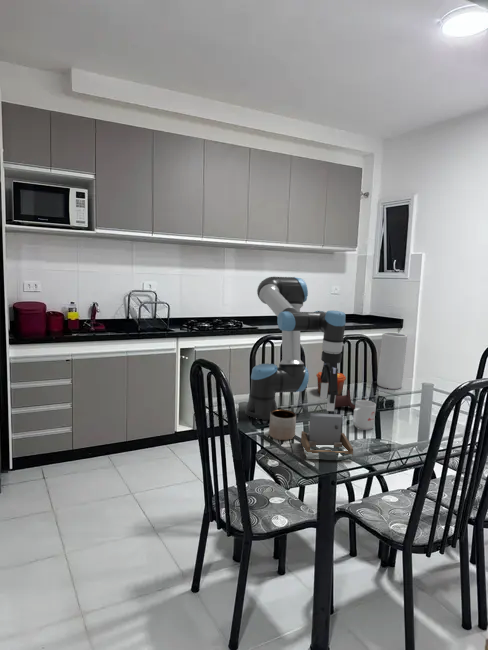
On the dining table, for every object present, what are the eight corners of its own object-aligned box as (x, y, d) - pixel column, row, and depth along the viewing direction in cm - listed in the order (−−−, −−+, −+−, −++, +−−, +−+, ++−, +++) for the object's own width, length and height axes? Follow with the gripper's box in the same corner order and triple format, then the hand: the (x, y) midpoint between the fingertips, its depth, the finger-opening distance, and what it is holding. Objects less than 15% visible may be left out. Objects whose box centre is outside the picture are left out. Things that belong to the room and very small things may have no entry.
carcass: (306, 459, 170) (307, 446, 169) (300, 443, 184) (301, 431, 183) (351, 461, 170) (353, 448, 169) (342, 444, 184) (343, 433, 184)
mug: (360, 421, 211) (363, 398, 210) (377, 428, 205) (380, 404, 203) (344, 427, 204) (347, 403, 202) (361, 433, 197) (364, 409, 195)
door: (309, 446, 178) (312, 416, 176) (307, 441, 182) (310, 413, 180) (340, 447, 179) (342, 418, 177) (337, 443, 183) (340, 414, 181)
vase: (381, 389, 266) (387, 336, 261) (373, 382, 280) (378, 331, 275) (405, 390, 267) (412, 337, 262) (395, 383, 281) (401, 332, 276)
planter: (292, 431, 196) (294, 409, 194) (296, 441, 185) (298, 419, 184) (267, 430, 195) (269, 408, 194) (269, 440, 185) (271, 417, 183)
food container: (317, 387, 262) (319, 369, 261) (345, 391, 258) (347, 373, 256) (312, 395, 247) (314, 375, 246) (342, 399, 243) (344, 380, 241)
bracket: (369, 408, 222) (366, 388, 225) (333, 411, 225) (331, 391, 228) (368, 409, 228) (365, 389, 231) (334, 412, 231) (331, 392, 234)
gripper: (349, 360, 163) (343, 416, 166) (334, 344, 187) (329, 394, 191) (328, 359, 162) (323, 415, 166) (316, 343, 187) (311, 393, 191)
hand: (326, 404), depth 179 cm, fingers open, 13 cm apart
